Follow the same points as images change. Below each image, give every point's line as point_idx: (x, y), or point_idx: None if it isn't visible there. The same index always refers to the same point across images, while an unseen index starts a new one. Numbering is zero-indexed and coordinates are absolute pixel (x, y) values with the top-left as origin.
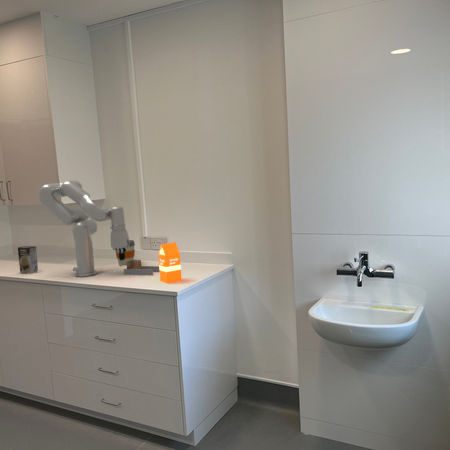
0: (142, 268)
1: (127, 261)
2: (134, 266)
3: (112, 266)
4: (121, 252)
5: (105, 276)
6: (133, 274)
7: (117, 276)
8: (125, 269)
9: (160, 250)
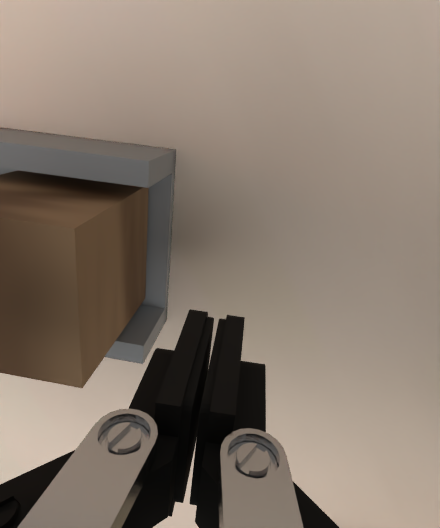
0: None
1: (73, 262)
2: None
3: None
4: (151, 439)
5: (435, 119)
6: (40, 135)
7: (255, 121)
8: (122, 156)
9: None
